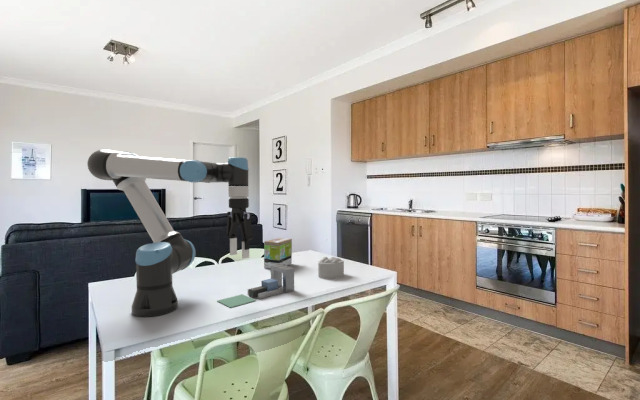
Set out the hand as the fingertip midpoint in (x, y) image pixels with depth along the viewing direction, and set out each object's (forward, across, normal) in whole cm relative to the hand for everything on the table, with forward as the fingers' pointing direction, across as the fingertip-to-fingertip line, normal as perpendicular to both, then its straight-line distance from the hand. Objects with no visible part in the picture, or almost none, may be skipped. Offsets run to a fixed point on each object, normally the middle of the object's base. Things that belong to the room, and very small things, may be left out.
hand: (239, 256), depth 132 cm
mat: (+17, 0, +2) cm, 17 cm away
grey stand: (+17, 0, -15) cm, 23 cm away
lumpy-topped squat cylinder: (+18, +1, -51) cm, 54 cm away
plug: (+17, 0, -11) cm, 20 cm away
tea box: (+18, +35, -45) cm, 60 cm away
